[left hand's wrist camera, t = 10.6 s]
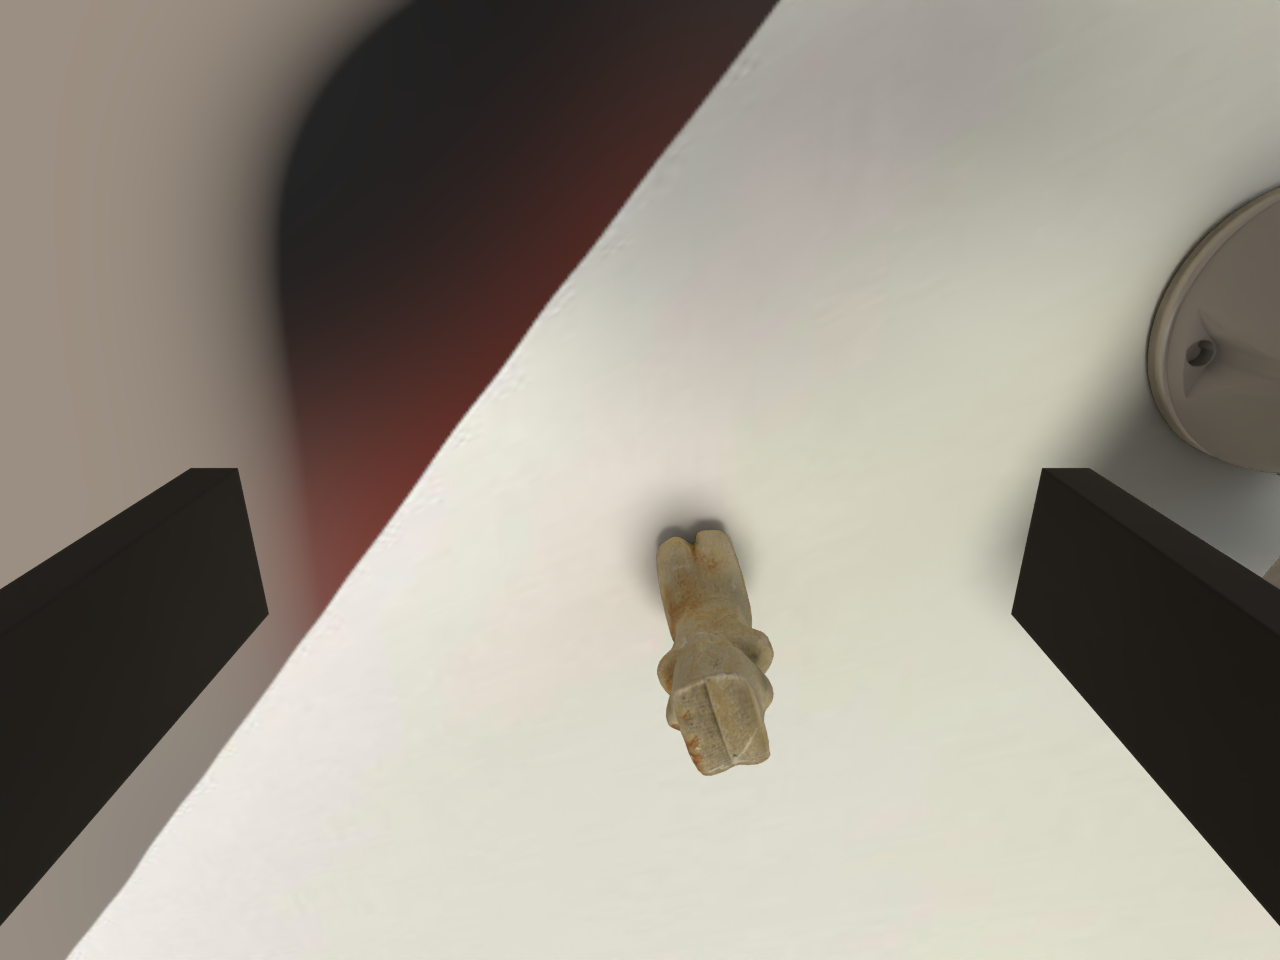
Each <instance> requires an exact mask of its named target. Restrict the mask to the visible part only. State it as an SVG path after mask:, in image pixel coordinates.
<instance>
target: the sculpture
mask: <svg viewBox="0 0 1280 960" xmlns="http://www.w3.org/2000/svg"><path fill="white" fill-rule="evenodd" d="M656 558H657V571H658V578H659V585H660V591H661V597H662V602H663V606H664V611H665V615H666V619H667V622H668V626H669V630H670V634H671V637H672V639H673V641H674V644H673V647H672V649H671V650H670V651H669V652H668V653H667V654H666V655H665V656H664V657H663V658H662V659H661V661H660V662H659V665H658V669H657V675H658V678H659V681H660V684H661V685H662V687H663V688H664V689H665V691H666V692H667V693H668V694H669V695H670V697H669V701H668V705H667V709H666V718H667V722H668V724H669V726H671V727H672V728H674V729H677V730H679V731H681V733H682V736H683V738H684V741H685V743H686V746H687V749H688V752H689V755H690V757H691V759H692V761H693V763H694V764H695V766H696V767H697V769H698V770H699V771H700V772H701V773H702V774H703V775H705V776H712V775H715V774H718V773H721V772H724V771H726V770H728V769H730V768H731V767H733V766H736V765H753V764H759V763H762V762H764V761H765V760H767V759H768V758H769V756H770V751H769V740H768V736H767V732H766V727H765V724H764V713H765V711H766V709H767V708H768V706H769V705H770V704H771V702H772V700H773V689H772V686H771V683H770V681H769V679H768V678H767V677H766V676H765V674H764V673H765V672H766V671H767V670H768V668H769V667H770V665H771V663H772V660H773V654H774V652H773V649H772V646H771V643H770V641H769V639H768V637H767V636H766V635H765V634H764V633H763V632H761V631H758V630H755V629H752V616H751V608H750V603H749V599H748V595H747V591H746V587H745V583H744V580H743V576H742V573H741V569H740V566H739V563H738V560H737V558H736V555H735V552H734V549H733V546H732V544H731V541H730V538H729V536H728V535H727V534H725V533H724V532H723V531H720V530H703V531H700V532H698V533H697V535H696V539H695V543H694V544H690V543H688V542H687V541H686V540H684V539H682V538H680V537H672V538H670V539H668V540H666V541H665V542H663V543H662V544H661V545H660V546H659V548H658V551H657V557H656Z"/></svg>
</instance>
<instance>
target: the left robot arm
mask: <svg viewBox="0 0 1280 960" xmlns="http://www.w3.org/2000/svg"><path fill="white" fill-rule="evenodd" d="M1148 374H1149V381H1150V387H1151V390H1152V394H1153V398H1154V400H1155V402H1156V405H1157V407H1158V409H1159V411H1160V413H1161V415H1162V417H1163V418H1164V420H1165V421H1166V422H1167V424H1168V425H1169V426H1170V428H1171V429H1172V430H1173V431H1174V432H1175V433H1176V434H1177V435H1178V436H1179V437H1181V438H1182V439H1183V440H1184V441H1186V442H1187V443H1188V444H1190V445H1192V446H1193V447H1195V448H1197V449H1199V450H1201V451H1203V452H1205V453H1207V454H1209V455H1211V456H1213V457H1215V458H1217V459H1220V460H1222V461H1224V462H1226V463H1229V464H1232V465H1235V466H1239V467H1243V468H1248V469H1253V470H1258V471H1263V472H1274V473H1279V474H1277V475H1280V187H1278V188H1276V189H1274V190H1271V191H1269V192H1267V193H1265V194H1263V195H1261V196H1259V197H1258V198H1256V199H1254V200H1252V201H1251V202H1249V203H1247V204H1246V205H1244V206H1243V207H1241V208H1240V209H1238V210H1237V211H1235V212H1234V213H1232V214H1231V215H1230V216H1229V217H1227V218H1226V219H1225V220H1224V221H1222V222H1221V223H1220V224H1219V225H1218V226H1217V227H1215V228H1214V229H1213V230H1212V231H1211V232H1210V233H1209V234H1208V235H1207V236H1206V237H1205V238H1204V239H1203V240H1202V241H1201V242H1200V243H1199V244H1198V245H1197V247H1196V248H1195V249H1194V250H1193V251H1192V252H1191V254H1190V255H1189V256H1188V257H1187V259H1186V260H1185V261H1184V263H1183V264H1182V266H1181V267H1180V269H1179V270H1178V271H1177V273H1176V274H1175V276H1174V278H1173V279H1172V281H1171V283H1170V285H1169V287H1168V288H1167V290H1166V292H1165V294H1164V297H1163V299H1162V301H1161V303H1160V305H1159V308H1158V311H1157V314H1156V316H1155V320H1154V323H1153V327H1152V331H1151V336H1150V342H1149V350H1148ZM268 614H269V613H268V608H267V603H266V599H265V594H264V589H263V585H262V580H261V575H260V570H259V566H258V561H257V556H256V552H255V547H254V542H253V537H252V533H251V528H250V523H249V519H248V514H247V509H246V504H245V500H244V495H243V490H242V486H241V481H240V476H239V472H238V468H190V469H189V470H187V471H186V472H184V473H183V474H181V475H179V476H178V477H176V478H175V479H173V480H171V481H170V482H168V483H167V484H165V485H164V486H162V487H160V488H159V489H157V490H156V491H154V492H153V493H151V494H149V495H148V496H146V497H145V498H143V499H142V500H140V501H138V502H137V503H135V504H134V505H132V506H131V507H129V508H128V509H126V510H124V511H123V512H121V513H120V514H118V515H116V516H115V517H113V518H112V519H110V520H109V521H107V522H105V523H104V524H102V525H101V526H99V527H98V528H96V529H94V530H93V531H91V532H90V533H88V534H87V535H85V536H83V537H82V538H80V539H79V540H77V541H75V542H74V543H72V544H71V545H69V546H68V547H66V548H65V549H63V550H61V551H60V552H58V553H57V554H55V555H53V556H52V557H50V558H49V559H47V560H46V561H44V562H42V563H41V564H39V565H38V566H36V567H35V568H33V569H32V570H30V571H28V572H27V573H25V574H24V575H22V576H21V577H19V578H17V579H16V580H14V581H13V582H11V583H9V584H8V585H6V586H5V587H3V588H2V589H0V926H1V925H2V923H3V922H4V921H5V920H6V919H7V918H8V916H9V915H10V914H11V913H12V912H13V911H14V909H15V908H16V907H17V906H18V905H19V904H20V902H21V901H22V900H23V899H24V898H25V897H26V896H27V894H28V893H29V892H30V891H31V890H32V889H33V887H34V886H35V885H36V884H37V883H38V881H39V880H40V879H41V878H42V877H43V876H44V875H45V873H46V872H47V871H48V870H49V869H50V868H51V866H52V865H53V864H54V863H55V862H56V861H57V860H58V858H59V857H60V856H61V855H62V854H63V853H64V851H65V850H66V849H67V848H68V847H69V846H70V844H71V843H72V842H73V841H74V840H75V839H76V837H77V836H78V835H79V834H80V833H81V832H82V830H83V829H84V828H85V827H86V826H87V825H88V823H89V822H90V821H91V820H92V819H93V818H94V816H95V815H96V814H97V813H98V812H99V811H100V810H101V808H102V807H103V806H104V805H105V804H106V803H107V801H108V800H109V799H110V798H111V797H112V796H113V794H114V793H115V792H116V791H117V790H118V789H119V787H120V786H121V785H122V784H123V783H124V782H125V780H126V779H127V778H128V777H129V776H130V775H131V774H132V772H133V771H134V770H135V769H136V768H137V767H138V765H139V764H140V763H141V762H142V761H143V760H144V758H145V757H146V756H147V755H148V754H149V753H150V751H151V750H152V749H153V748H154V747H155V746H156V744H157V743H158V742H159V741H160V740H161V739H162V737H163V736H164V735H165V734H166V733H167V732H168V731H169V729H170V728H171V727H172V726H173V725H174V724H175V722H176V721H177V720H178V719H179V718H180V717H181V715H182V714H183V713H184V712H185V711H186V710H187V708H188V707H189V706H190V705H191V704H192V703H193V701H194V700H195V699H196V698H197V697H198V696H199V694H200V693H201V692H202V691H203V690H204V689H205V688H206V686H207V685H208V684H209V683H210V682H211V681H212V679H213V678H214V677H215V676H216V675H217V674H218V672H219V671H220V670H221V669H222V668H223V667H224V665H225V664H226V663H227V662H228V661H229V660H230V658H231V657H232V656H233V655H234V654H235V653H236V652H237V650H238V649H239V648H240V647H241V646H242V644H243V643H244V642H245V641H246V640H247V639H248V638H249V636H250V635H251V634H252V633H253V632H254V631H255V629H256V628H257V627H258V626H259V625H260V624H261V622H262V621H263V620H264V619H265V618H266V617H267V615H268ZM1011 614H1012V615H1013V617H1014V618H1015V619H1016V620H1017V621H1018V622H1019V624H1020V625H1021V626H1022V627H1023V628H1024V629H1025V631H1026V632H1027V633H1028V634H1029V635H1030V636H1031V638H1032V639H1033V640H1034V641H1035V642H1036V643H1037V645H1038V646H1039V647H1040V648H1041V649H1042V650H1043V652H1044V653H1045V654H1046V655H1047V656H1048V657H1049V658H1050V660H1051V661H1052V662H1053V663H1054V664H1055V665H1056V667H1057V668H1058V669H1059V670H1060V671H1061V672H1062V674H1063V675H1064V676H1065V677H1066V678H1067V679H1068V681H1069V682H1070V683H1071V684H1072V685H1073V686H1074V688H1075V689H1076V690H1077V691H1078V692H1079V693H1080V694H1081V696H1082V697H1083V698H1084V699H1085V700H1086V701H1087V703H1088V704H1089V705H1090V706H1091V707H1092V708H1093V710H1094V711H1095V712H1096V713H1097V714H1098V715H1099V717H1100V718H1101V719H1102V720H1103V721H1104V722H1105V724H1106V725H1107V726H1108V727H1109V728H1110V729H1111V731H1112V732H1113V733H1114V734H1115V735H1116V736H1117V737H1118V739H1119V740H1120V741H1121V742H1122V743H1123V744H1124V746H1125V747H1126V748H1127V749H1128V750H1129V751H1130V753H1131V754H1132V755H1133V756H1134V757H1135V758H1136V760H1137V761H1138V762H1139V763H1140V764H1141V765H1142V767H1143V768H1144V769H1145V770H1146V771H1147V772H1148V774H1149V775H1150V776H1151V777H1152V778H1153V779H1154V780H1155V782H1156V783H1157V784H1158V785H1159V786H1160V787H1161V789H1162V790H1163V791H1164V792H1165V793H1166V794H1167V796H1168V797H1169V798H1170V799H1171V800H1172V801H1173V803H1174V804H1175V805H1176V806H1177V807H1178V808H1179V810H1180V811H1181V812H1182V813H1183V814H1184V815H1185V817H1186V818H1187V819H1188V820H1189V821H1190V822H1191V823H1192V825H1193V826H1194V827H1195V828H1196V829H1197V830H1198V832H1199V833H1200V834H1201V835H1202V836H1203V837H1204V839H1205V840H1206V841H1207V842H1208V843H1209V844H1210V846H1211V847H1212V848H1213V849H1214V850H1215V851H1216V853H1217V854H1218V855H1219V856H1220V857H1221V858H1222V860H1223V861H1224V862H1225V863H1226V864H1227V865H1228V866H1229V868H1230V869H1231V870H1232V871H1233V872H1234V873H1235V875H1236V876H1237V877H1238V878H1239V879H1240V880H1241V882H1242V883H1243V884H1244V885H1245V886H1246V887H1247V889H1248V890H1249V891H1250V892H1251V893H1252V894H1253V896H1254V897H1255V898H1256V899H1257V900H1258V901H1259V903H1260V904H1261V905H1262V906H1263V907H1264V908H1265V909H1266V911H1267V912H1268V913H1269V914H1270V915H1271V916H1272V918H1273V919H1274V920H1275V921H1276V922H1277V923H1278V925H1279V926H1280V558H1279V559H1278V560H1277V561H1276V563H1275V564H1274V565H1273V566H1272V567H1271V568H1270V569H1269V571H1268V572H1267V573H1266V574H1265V575H1264V576H1263V577H1262V578H1261V577H1260V576H1258V575H1256V574H1255V573H1253V572H1252V571H1250V570H1249V569H1247V568H1245V567H1244V566H1242V565H1241V564H1239V563H1238V562H1236V561H1234V560H1233V559H1231V558H1230V557H1228V556H1227V555H1225V554H1223V553H1222V552H1220V551H1219V550H1217V549H1216V548H1214V547H1212V546H1211V545H1209V544H1208V543H1206V542H1205V541H1203V540H1201V539H1200V538H1198V537H1197V536H1195V535H1193V534H1192V533H1190V532H1189V531H1187V530H1186V529H1184V528H1182V527H1181V526H1179V525H1178V524H1176V523H1175V522H1173V521H1171V520H1170V519H1168V518H1167V517H1165V516H1164V515H1162V514H1160V513H1159V512H1157V511H1156V510H1154V509H1153V508H1151V507H1149V506H1148V505H1146V504H1145V503H1143V502H1142V501H1140V500H1138V499H1137V498H1135V497H1134V496H1132V495H1131V494H1129V493H1127V492H1126V491H1124V490H1123V489H1121V488H1120V487H1118V486H1116V485H1115V484H1113V483H1112V482H1110V481H1109V480H1107V479H1105V478H1104V477H1102V476H1101V475H1099V474H1098V473H1096V472H1094V471H1093V470H1091V469H1090V468H1042V472H1041V476H1040V481H1039V486H1038V490H1037V495H1036V500H1035V504H1034V509H1033V514H1032V519H1031V523H1030V528H1029V533H1028V537H1027V542H1026V547H1025V552H1024V556H1023V561H1022V566H1021V570H1020V575H1019V580H1018V585H1017V589H1016V594H1015V599H1014V603H1013V608H1012V613H1011Z"/></svg>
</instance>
